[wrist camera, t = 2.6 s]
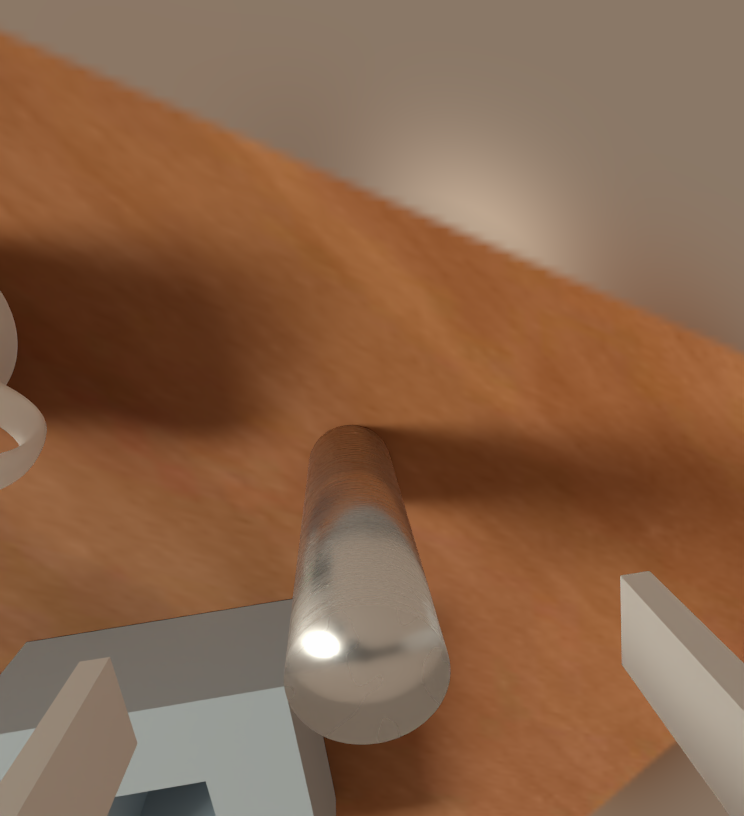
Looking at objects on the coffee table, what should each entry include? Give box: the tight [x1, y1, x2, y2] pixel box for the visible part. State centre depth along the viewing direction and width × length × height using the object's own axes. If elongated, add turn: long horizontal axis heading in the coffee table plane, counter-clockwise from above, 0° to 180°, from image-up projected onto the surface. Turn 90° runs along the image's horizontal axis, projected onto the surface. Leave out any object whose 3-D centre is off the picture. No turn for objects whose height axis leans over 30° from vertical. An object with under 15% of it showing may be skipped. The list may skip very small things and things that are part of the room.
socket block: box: [0, 599, 336, 816], centre depth 27 cm, size 14×14×6 cm
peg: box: [284, 425, 450, 745], centre depth 19 cm, size 4×4×14 cm
